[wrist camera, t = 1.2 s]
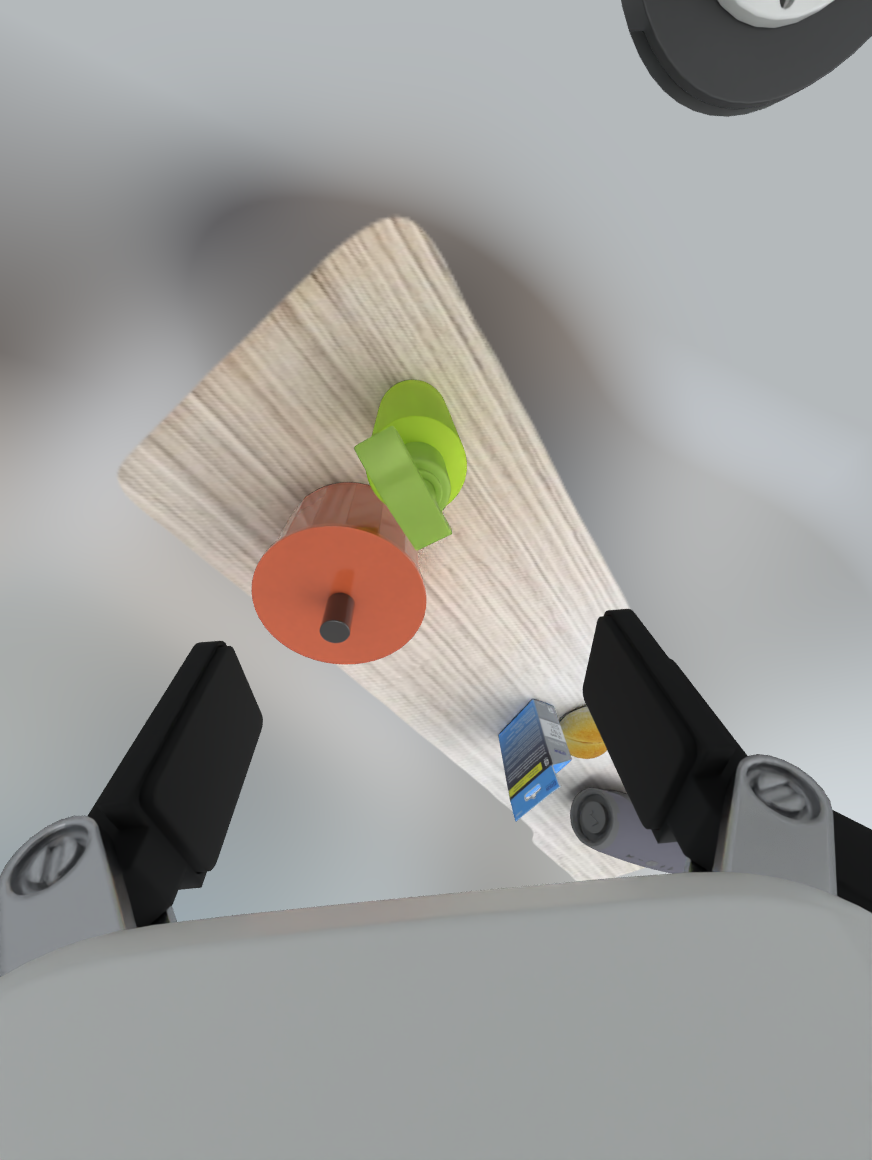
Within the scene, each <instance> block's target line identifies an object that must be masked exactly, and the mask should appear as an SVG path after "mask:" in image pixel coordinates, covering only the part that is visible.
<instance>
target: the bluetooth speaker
mask: <svg viewBox="0 0 872 1160" xmlns="http://www.w3.org/2000/svg"><path fill="white" fill-rule="evenodd" d="M570 819H571V825H572V828H573V830H574V832H575V834H576V836H577V837H578V838H579V840H580V841H581V842H582V843H584V844H585V845H587V846H589V847H591V848H593V849H595V850H597V851H599V852H602V853H604V854H607V855H610V856H613V857H615V858H618V859H621V860H624V861H627V862H630V863H633V864H636V865H640V866H643V867H647V868H651V869H655V870H659V871H663V872H668V873H672V874H675V873H683V870H684V865H685V861H686V856H685V855H684V854H683V852H682V850H681V848H680V846H679V844H678V842H671V843H660V844H658V843H657V841H656V839H655V837H654V835H653V832H652V830H651V829H646V828H644V826H643V825H642V823H641V821H640V819H639V817H638V815H637V813H636V811H635V809H634V807H633V804H632V802H631V800H630V798H629V796H628V795H627V794H625V793H622V792H618V791H614V790H608V791H606V790H602V789H597V788H587V789H584V790H583V791H581V792H580V793H579V794H578V795H577V796H576V797H575V799H574V800H573V803H572V806H571V811H570Z"/></svg>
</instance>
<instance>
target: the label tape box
mask: <svg viewBox="0 0 872 1160" xmlns="http://www.w3.org/2000/svg"><path fill="white" fill-rule="evenodd" d="M498 736H499V742H500V747H501V753H502V759H503V764H504V770H505V775H506V781H507V786H508V791H509V797H510V802H511V805H512V809H513V814H514V817H515V821H518V820H519V819H520V818H521V817H522V816H523V815H525V814H526V813H527V812H528V811H530V810H531V809H532V808H533V807H535V806H536V805H537V804H539V803H540V802H541V801H542V800H544V799H545V798H546V797H547V796H549V795H550V794H551V793H553V792H554V791H555V790H557V789H558V788H560V787H561V784H560V783H559V781H558V778H557V775H556V773H557V772H559V771H560V770H561V769H562V768H563V767H564V766H566V765H567V764H568V763H569V762H570V761H571V760H572V758H571V755H570V752H569V749H568V746H567V743H566V740H565V738H564V735H563V732H562V729H561V726H560V723H559V720H558V717H557V714H556V711H555V708H554V707H553V706H551V705H549V704H546V703H544V702H541V701H537V700H534V699H533V700H531V702H530V703H529V704H528V705H527V706H526V707H525V708H524V709H523V710H522V711H521V712H520V713H519V714H518V715H517V717H516V718H515V719H514V720H513V721H512V722H511V723H510V724H509V725H508V726H507V727H506V728H505V729H504V730H503V731H502V732H501V733H500V734H499V735H498ZM540 787H541V789H540V790H539V791H538V792H536V791H537V790H538V789H539V788H540ZM535 792H536V796H535V797H534V798H533V797H530V798H529V799H526V797H528V796H531V795H532V794H533V793H535Z"/></svg>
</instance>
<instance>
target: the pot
mask: <svg viewBox="0 0 872 1160" xmlns="http://www.w3.org/2000/svg"><path fill="white" fill-rule="evenodd" d="M325 523H340V524H349V525H354V526H359V527H363V528H366V529H369V530H371V531H374V532H377V533H379V534H381V535H383V536H385V537H387V538H388V539H390V540H391V541H393V542H394V543H396V544H397V545H398V546H399V547H400V548H402V549H403V550H404V551H405V552H406V553H407V554H408V555H409V556H410V557H411V559H412V560H413V561H414V563H415V564H416V566H417V567H418V569H419V557H418V551H416V550H415V548H414V547H413V545H412V544H411V542H410V541H409V539H408V538H407V536H406V535H405V533H404V532H403V530H402V529H401V527H400V526H399V524H398V523H397V521H396V520H395V518H394V517H393V515H392V514H391V512H390V510H389V509H388V507H387V506H386V505H385V504H384V503H383V502H382V501H381V500H380V499H379V498H378V497H377V496H376V494H375V493H374V492H373V490H372V488H371V486H369V485H365V484H361V483H353V482H343V483H335V484H331V485H327V486H325V487H322V488H320V489H317V490H316V491H314V492H312V493H311V494H309V495H308V496H307V497H305V498H304V499H303V501H302V502H301V503H300V504H299V505H298V507H297V508H296V510H295V511H294V512H293V513H292V515H291V516H290V518H289V520H288V522H287V524H286V525H285V527H284V529H283V531H282V533H281V534H280V536H279V538H278V540H279V539H280V538H282V537H283V536H285V535H287V534H289V533H290V532H293V531H295V530H298V529H300V528H303V527H307V526H311V525H317V524H325Z"/></svg>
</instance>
